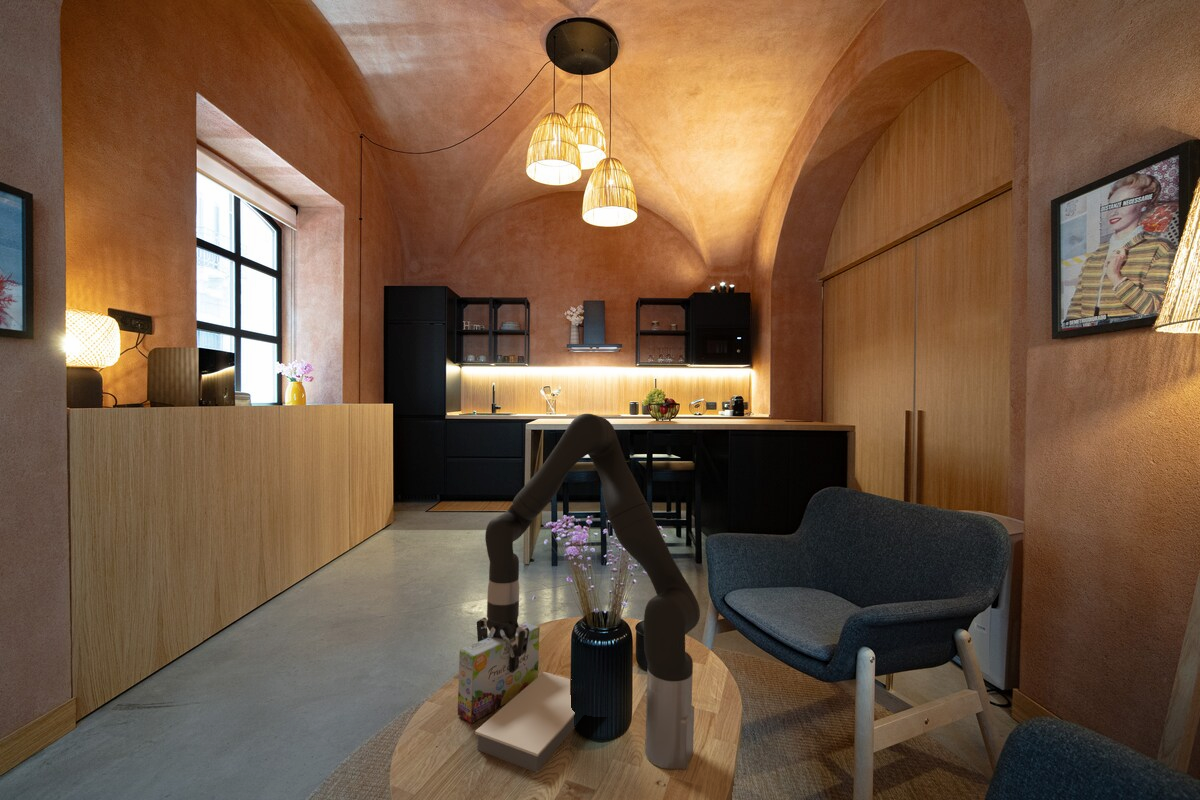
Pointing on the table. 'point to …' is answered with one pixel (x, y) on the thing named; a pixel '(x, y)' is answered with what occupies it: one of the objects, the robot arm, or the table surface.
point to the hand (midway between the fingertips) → (501, 667)
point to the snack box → (494, 674)
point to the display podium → (530, 723)
